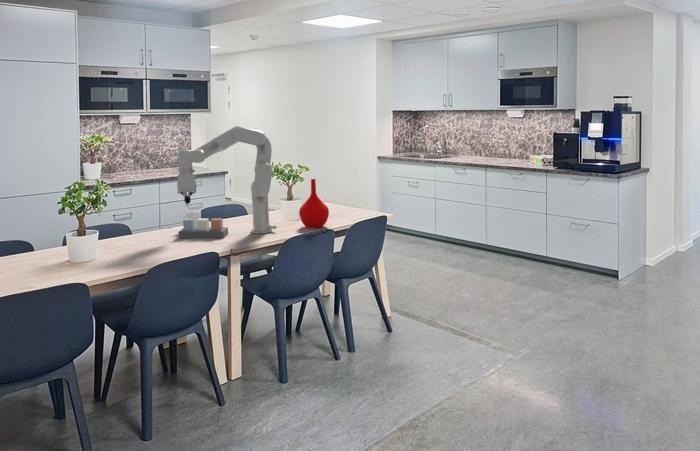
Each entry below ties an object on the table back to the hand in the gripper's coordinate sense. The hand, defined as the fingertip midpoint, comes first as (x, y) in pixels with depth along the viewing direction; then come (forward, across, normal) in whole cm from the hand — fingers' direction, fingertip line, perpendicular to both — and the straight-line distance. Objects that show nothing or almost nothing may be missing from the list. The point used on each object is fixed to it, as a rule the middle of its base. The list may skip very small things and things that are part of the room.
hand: (187, 203), depth 352 cm
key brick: (+16, -16, 0) cm, 23 cm away
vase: (+19, -71, -25) cm, 78 cm away
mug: (+20, +2, -16) cm, 26 cm away
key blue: (+16, 0, 0) cm, 16 cm away
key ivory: (+16, -8, 0) cm, 18 cm away
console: (+19, -8, 0) cm, 21 cm away
